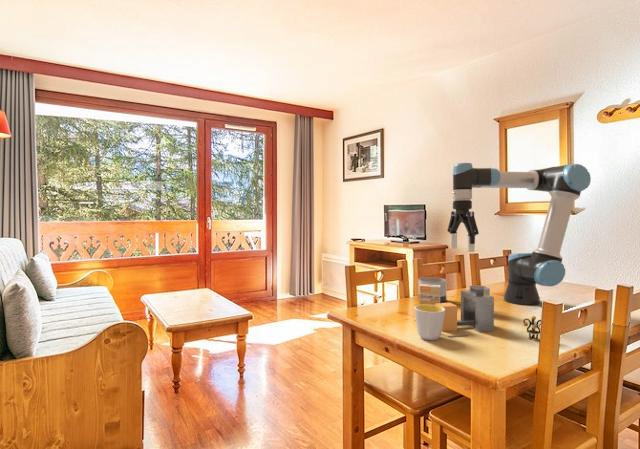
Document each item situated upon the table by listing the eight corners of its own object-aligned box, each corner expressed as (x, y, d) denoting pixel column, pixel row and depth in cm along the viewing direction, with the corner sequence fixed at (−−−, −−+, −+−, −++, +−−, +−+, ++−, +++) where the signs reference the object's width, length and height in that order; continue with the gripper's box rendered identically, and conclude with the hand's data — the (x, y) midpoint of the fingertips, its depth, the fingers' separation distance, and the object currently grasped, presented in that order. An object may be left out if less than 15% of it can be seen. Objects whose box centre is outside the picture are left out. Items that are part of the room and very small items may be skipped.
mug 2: (485, 316, 156) (486, 290, 156) (464, 313, 162) (465, 287, 161) (494, 310, 165) (495, 285, 165) (474, 307, 171) (474, 283, 170)
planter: (452, 301, 181) (452, 280, 181) (434, 306, 174) (434, 283, 174) (430, 296, 192) (430, 276, 192) (412, 300, 185) (412, 279, 184)
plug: (486, 323, 147) (486, 300, 146) (494, 327, 142) (494, 303, 142) (435, 327, 143) (435, 303, 143) (441, 331, 138) (442, 306, 138)
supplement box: (418, 317, 156) (418, 285, 156) (420, 314, 161) (420, 283, 160) (439, 319, 153) (440, 286, 153) (440, 315, 158) (440, 284, 157)
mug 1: (442, 344, 125) (442, 313, 124) (410, 340, 129) (411, 309, 129) (448, 332, 137) (449, 303, 136) (420, 328, 141) (420, 300, 141)
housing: (474, 321, 150) (475, 284, 149) (493, 331, 138) (494, 291, 137) (460, 322, 149) (460, 285, 148) (478, 332, 137) (478, 292, 136)
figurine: (520, 336, 131) (523, 314, 130) (530, 335, 133) (533, 312, 132) (533, 342, 127) (535, 319, 126) (543, 340, 129) (545, 317, 128)
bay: (442, 321, 151) (442, 320, 151) (467, 335, 133) (467, 335, 133) (426, 322, 149) (425, 321, 149) (449, 337, 132) (449, 336, 132)
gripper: (439, 200, 173) (439, 247, 173) (470, 199, 148) (470, 253, 149) (455, 200, 174) (454, 247, 175) (488, 199, 149) (487, 253, 150)
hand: (461, 250), depth 162 cm, fingers open, 13 cm apart
